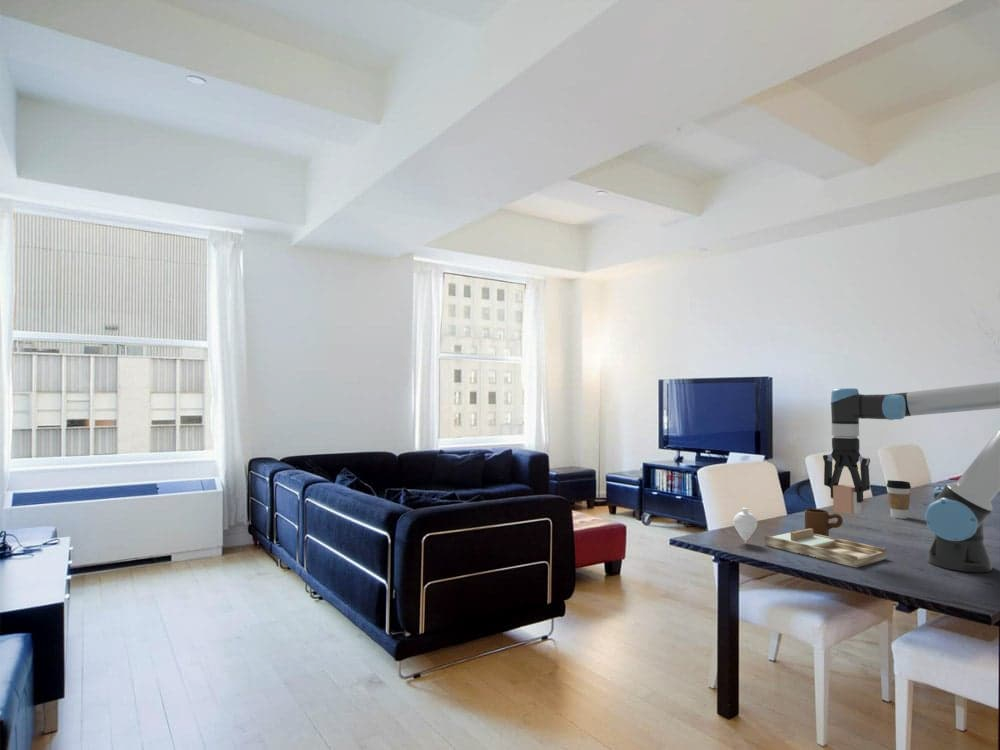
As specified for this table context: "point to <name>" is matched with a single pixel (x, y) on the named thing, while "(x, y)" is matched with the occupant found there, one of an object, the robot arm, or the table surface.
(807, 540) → the lid
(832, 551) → the beige flat rectangular tray
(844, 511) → the block
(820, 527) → the mug
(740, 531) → the spinning top
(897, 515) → the coffee cup
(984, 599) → the table surface
